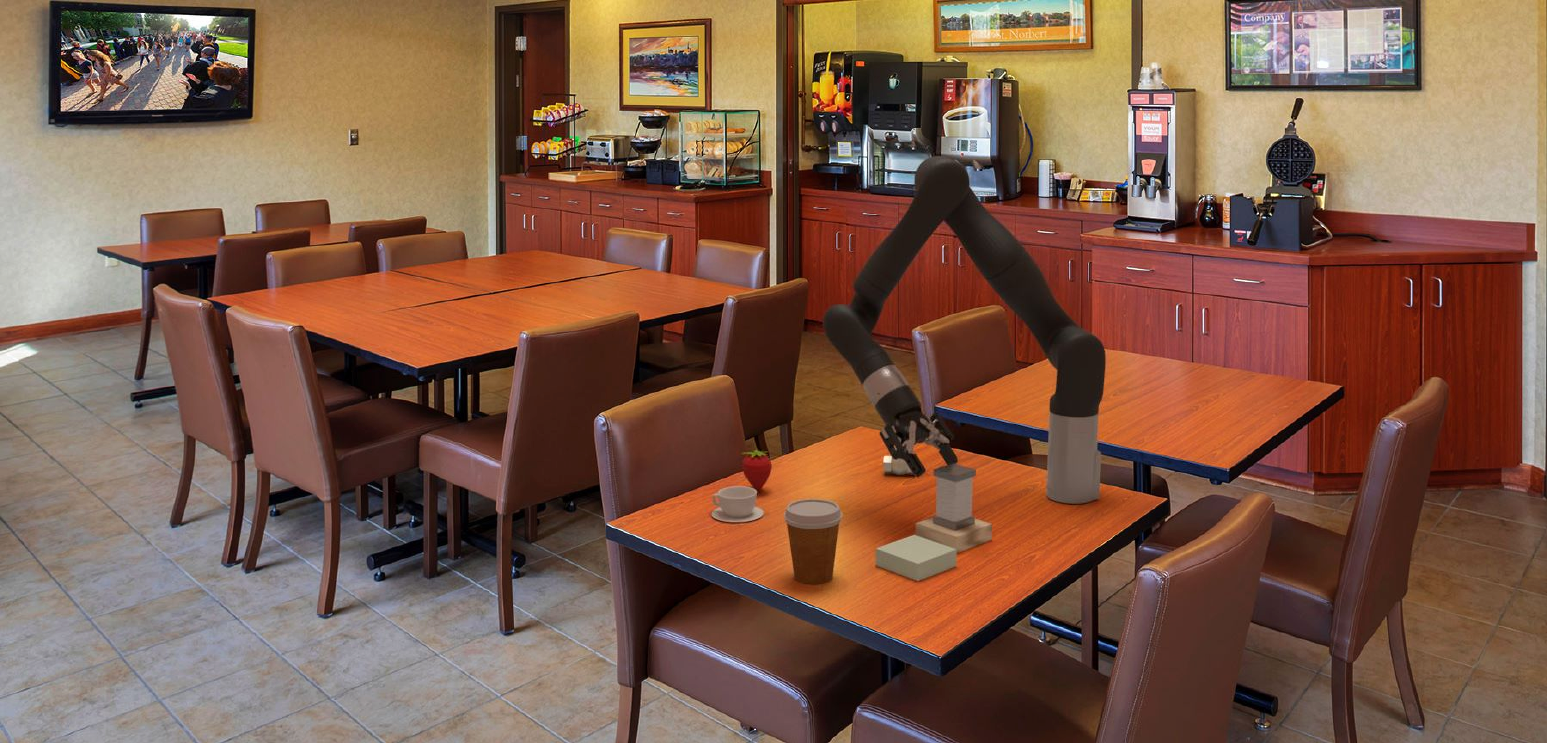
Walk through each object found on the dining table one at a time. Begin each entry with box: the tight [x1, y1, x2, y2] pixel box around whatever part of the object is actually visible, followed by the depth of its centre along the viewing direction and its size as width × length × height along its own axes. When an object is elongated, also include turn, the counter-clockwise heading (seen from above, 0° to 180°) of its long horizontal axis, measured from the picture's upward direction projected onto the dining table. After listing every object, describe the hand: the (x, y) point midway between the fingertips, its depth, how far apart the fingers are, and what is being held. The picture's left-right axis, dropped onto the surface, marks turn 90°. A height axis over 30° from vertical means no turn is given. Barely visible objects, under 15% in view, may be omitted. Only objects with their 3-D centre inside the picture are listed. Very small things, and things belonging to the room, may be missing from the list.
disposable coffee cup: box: [783, 498, 843, 585], centre depth 195 cm, size 10×10×12 cm
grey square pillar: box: [932, 463, 977, 531], centre depth 210 cm, size 5×5×10 cm
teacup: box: [711, 485, 765, 523], centre depth 226 cm, size 10×10×5 cm
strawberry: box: [741, 447, 773, 493], centre depth 239 cm, size 6×8×10 cm
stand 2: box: [915, 516, 993, 554], centre depth 211 cm, size 10×10×3 cm
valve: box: [882, 437, 914, 476], centre depth 248 cm, size 7×7×12 cm
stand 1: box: [875, 534, 958, 582], centre depth 200 cm, size 10×10×3 cm
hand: (938, 469), depth 212 cm, fingers open, 8 cm apart
